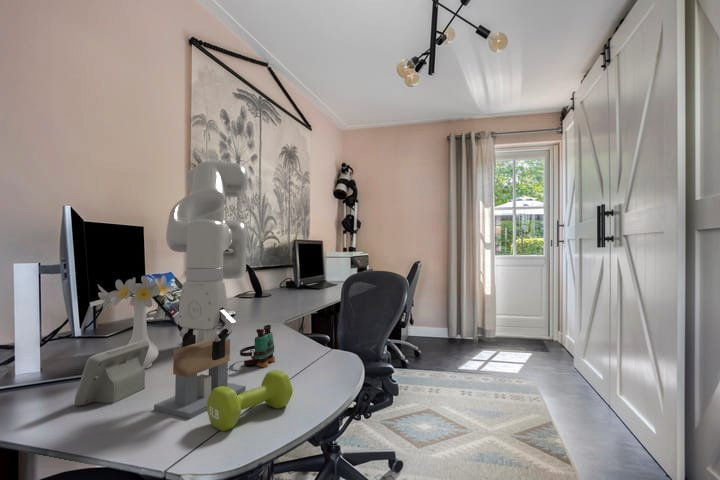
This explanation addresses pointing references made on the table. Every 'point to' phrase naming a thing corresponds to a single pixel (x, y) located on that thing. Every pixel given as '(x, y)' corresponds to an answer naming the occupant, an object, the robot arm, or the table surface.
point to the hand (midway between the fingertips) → (203, 355)
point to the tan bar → (197, 358)
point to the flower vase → (139, 306)
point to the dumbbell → (247, 399)
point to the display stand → (196, 392)
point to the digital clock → (113, 374)
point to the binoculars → (261, 348)
